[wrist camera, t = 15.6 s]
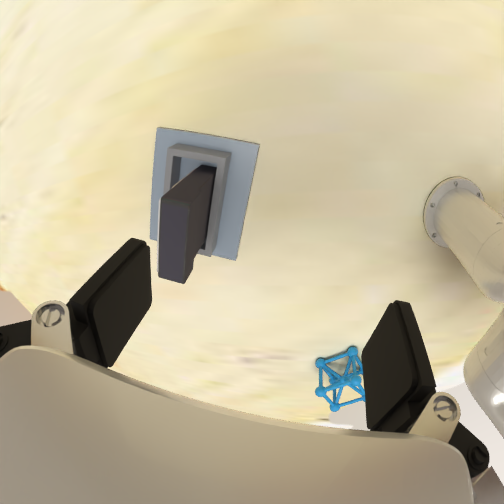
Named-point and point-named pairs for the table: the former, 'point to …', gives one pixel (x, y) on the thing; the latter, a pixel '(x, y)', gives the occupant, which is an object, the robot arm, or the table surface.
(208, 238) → the desk holder
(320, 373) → the molecular structure
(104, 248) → the table surface
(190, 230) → the multicoloured piece
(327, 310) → the table surface
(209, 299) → the table surface
